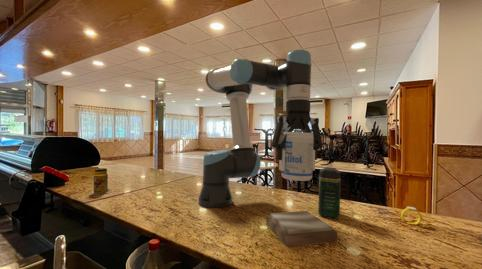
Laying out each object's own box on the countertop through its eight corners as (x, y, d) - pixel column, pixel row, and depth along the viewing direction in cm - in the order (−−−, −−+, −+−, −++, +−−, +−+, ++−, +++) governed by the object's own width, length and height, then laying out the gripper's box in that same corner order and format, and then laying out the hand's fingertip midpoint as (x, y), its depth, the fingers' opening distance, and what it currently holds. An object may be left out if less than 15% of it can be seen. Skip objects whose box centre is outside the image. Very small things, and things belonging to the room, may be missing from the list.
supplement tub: (278, 179, 67) (279, 132, 68) (284, 174, 76) (285, 132, 76) (311, 182, 64) (312, 132, 64) (314, 177, 72) (314, 133, 73)
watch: (418, 224, 80) (419, 208, 80) (422, 227, 77) (424, 210, 77) (399, 221, 82) (400, 205, 81) (402, 223, 79) (404, 207, 79)
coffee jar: (340, 220, 81) (341, 170, 81) (317, 217, 84) (318, 168, 84) (339, 212, 90) (340, 167, 90) (319, 209, 93) (320, 165, 93)
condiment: (92, 194, 106) (93, 170, 107) (92, 191, 113) (92, 167, 113) (109, 192, 111) (110, 169, 111) (108, 189, 118) (108, 166, 118)
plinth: (266, 224, 76) (266, 212, 76) (307, 220, 80) (307, 209, 80) (287, 247, 61) (287, 232, 61) (336, 241, 65) (337, 228, 65)
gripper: (269, 96, 64) (268, 172, 64) (336, 100, 69) (335, 171, 69) (261, 100, 71) (260, 169, 71) (322, 103, 76) (321, 168, 76)
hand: (296, 170), depth 70 cm, fingers closed on supplement tub, 10 cm apart
